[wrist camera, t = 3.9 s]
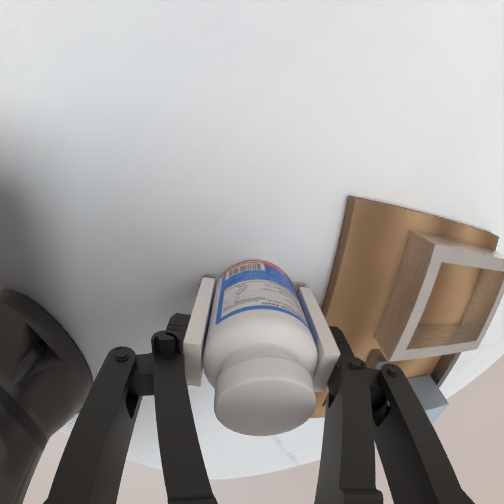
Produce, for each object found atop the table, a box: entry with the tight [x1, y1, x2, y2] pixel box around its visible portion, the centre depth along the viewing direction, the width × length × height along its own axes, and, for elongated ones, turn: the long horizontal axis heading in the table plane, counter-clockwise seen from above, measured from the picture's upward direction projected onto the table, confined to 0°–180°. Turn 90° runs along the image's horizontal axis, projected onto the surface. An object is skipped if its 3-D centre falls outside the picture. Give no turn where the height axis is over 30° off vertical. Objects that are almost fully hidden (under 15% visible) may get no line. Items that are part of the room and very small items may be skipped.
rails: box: [365, 349, 461, 388], centre depth 20 cm, size 10×9×2 cm
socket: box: [374, 230, 504, 362], centre depth 16 cm, size 11×8×3 cm
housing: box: [374, 375, 448, 447], centre depth 19 cm, size 8×5×4 cm, turn 83°
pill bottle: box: [203, 261, 317, 436], centre depth 14 cm, size 6×5×10 cm
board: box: [310, 196, 499, 418], centre depth 19 cm, size 16×20×1 cm
